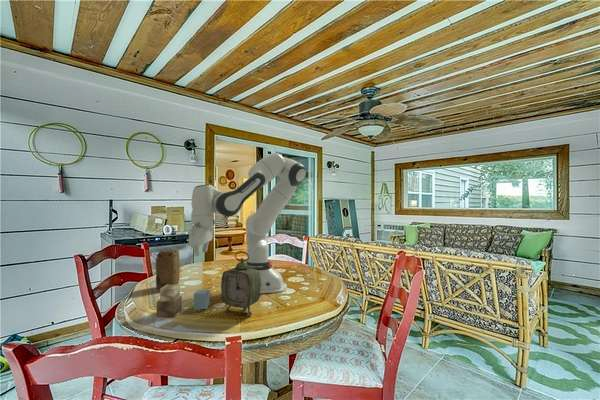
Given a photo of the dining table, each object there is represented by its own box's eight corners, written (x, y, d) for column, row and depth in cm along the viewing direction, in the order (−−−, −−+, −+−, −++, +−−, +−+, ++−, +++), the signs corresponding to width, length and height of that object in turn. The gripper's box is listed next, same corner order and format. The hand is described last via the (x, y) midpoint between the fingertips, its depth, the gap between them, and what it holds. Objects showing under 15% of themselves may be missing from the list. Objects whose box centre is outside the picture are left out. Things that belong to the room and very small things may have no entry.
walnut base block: (181, 310, 118) (181, 296, 118) (174, 317, 111) (174, 302, 111) (164, 310, 117) (165, 296, 117) (156, 317, 110) (156, 302, 110)
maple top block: (179, 296, 117) (179, 284, 117) (173, 301, 111) (174, 288, 111) (166, 296, 117) (166, 284, 117) (160, 301, 111) (160, 288, 111)
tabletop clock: (221, 312, 115) (221, 251, 115) (234, 305, 123) (234, 248, 123) (250, 318, 109) (251, 254, 109) (263, 310, 118) (263, 250, 118)
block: (180, 285, 150) (181, 248, 150) (173, 290, 143) (174, 251, 143) (161, 285, 151) (161, 248, 151) (153, 290, 143) (153, 250, 143)
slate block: (209, 305, 123) (209, 289, 123) (205, 310, 118) (205, 293, 118) (198, 305, 123) (198, 289, 123) (193, 310, 118) (193, 293, 118)
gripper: (200, 223, 111) (200, 259, 111) (216, 220, 131) (215, 250, 131) (184, 223, 111) (183, 258, 111) (202, 220, 131) (201, 249, 131)
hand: (201, 254), depth 121 cm, fingers open, 8 cm apart
